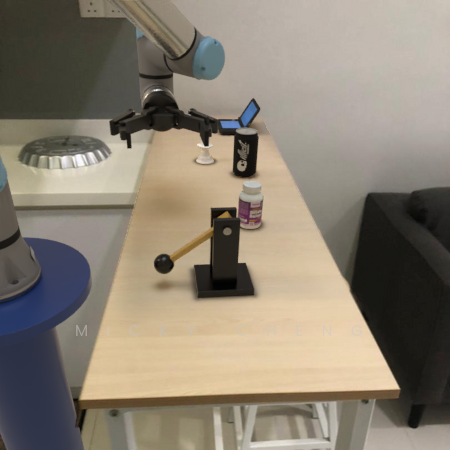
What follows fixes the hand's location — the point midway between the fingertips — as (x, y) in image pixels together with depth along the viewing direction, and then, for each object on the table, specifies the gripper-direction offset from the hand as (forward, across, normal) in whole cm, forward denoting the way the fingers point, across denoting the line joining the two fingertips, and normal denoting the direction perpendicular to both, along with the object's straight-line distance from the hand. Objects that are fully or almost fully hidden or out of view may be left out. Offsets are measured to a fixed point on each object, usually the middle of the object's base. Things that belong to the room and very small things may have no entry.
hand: (168, 139), depth 81 cm
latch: (+12, -4, -16) cm, 20 cm away
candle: (-52, -14, -23) cm, 59 cm away
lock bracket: (+12, -8, -22) cm, 27 cm away
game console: (-85, -30, -23) cm, 93 cm away
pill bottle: (-10, -18, -23) cm, 31 cm away
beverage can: (-41, -24, -23) cm, 52 cm away
